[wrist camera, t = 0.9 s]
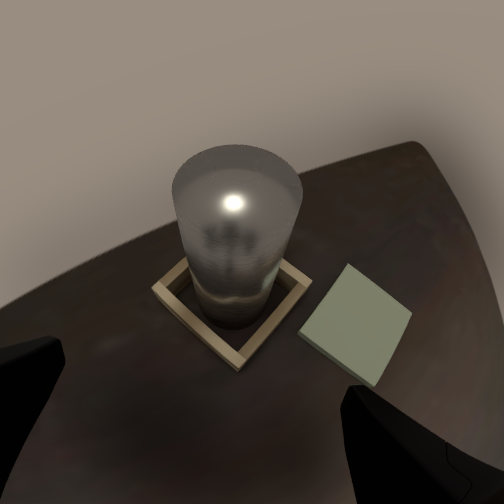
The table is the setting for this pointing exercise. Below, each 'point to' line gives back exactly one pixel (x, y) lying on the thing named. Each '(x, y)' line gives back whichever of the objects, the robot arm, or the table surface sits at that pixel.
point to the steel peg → (235, 227)
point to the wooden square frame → (166, 294)
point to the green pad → (357, 326)
